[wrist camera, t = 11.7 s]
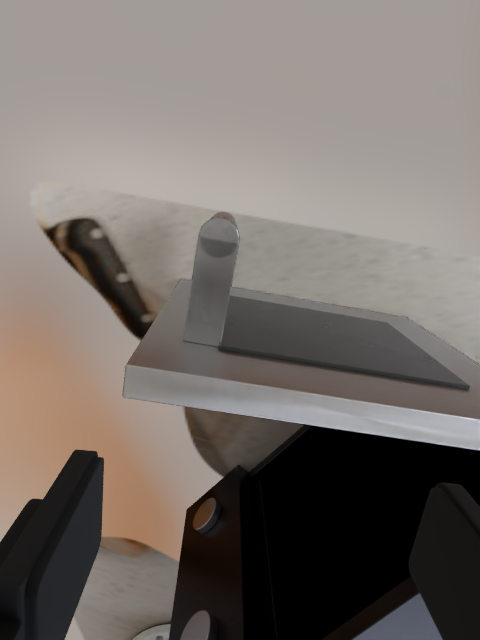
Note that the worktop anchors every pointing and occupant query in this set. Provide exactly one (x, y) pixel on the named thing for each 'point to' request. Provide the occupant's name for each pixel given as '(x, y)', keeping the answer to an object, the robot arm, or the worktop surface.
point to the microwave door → (300, 358)
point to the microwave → (315, 541)
